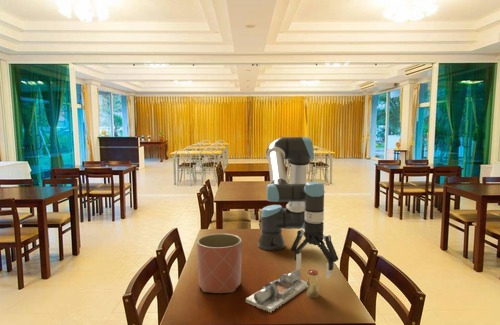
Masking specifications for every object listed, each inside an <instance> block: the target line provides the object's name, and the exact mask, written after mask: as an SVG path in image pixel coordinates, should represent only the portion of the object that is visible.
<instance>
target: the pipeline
mask: <svg viewBox="0 0 500 325" xmlns="http://www.w3.org/2000/svg"><path fill="white" fill-rule="evenodd" d="M301 277H302V274H301V271H300V270H299V269H298V270H296V269H295V270H292V271H291V272H290V273H283V274H281V275H280V277H279V278H278V279H275V280H273V281H270V282H267V283H265V285H264V286H262V289H260V290H258V291H256V292H255V293H252V294H251V295H250V296H248V297H246V298H245V303H247V304H249V305H252V306H254V307H255V306H256V307H255V308H258V309H260V310H262V309H263V310H262V311H265V310H266V311H265V312H267V311H268V313H269V312H270V314H271V313H273V312H274V311H275V309H276V308H277V309H279V308H280V307H281V306H282V304H283V305H284V304H285V303H287V302H288V301H290V300H292V299H293V298H295V296H297V295H298V294H300V293H301V292H302V291H303V292H304V291H305V290H307V280H303V279H301ZM279 306H280V307H279ZM277 309H276V310H277ZM272 311H273V312H272Z"/></svg>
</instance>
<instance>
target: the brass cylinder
mask: <svg viewBox="0 0 500 325" xmlns="http://www.w3.org/2000/svg"><path fill="white" fill-rule="evenodd" d="M306 282H307V288H306V296H307V297H309V298H313V299H314V298H315V299H316V298H318V297H320V296H319V295H320V294H319V293H320V292H319V291H320V290H319V289H320V273H319V272H318V270H316V269H309V270H308V271H307V272H306Z"/></svg>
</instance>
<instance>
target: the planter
mask: <svg viewBox="0 0 500 325" xmlns="http://www.w3.org/2000/svg"><path fill="white" fill-rule="evenodd" d="M242 244H243V240H242V238H241V237H240V236H239V235H236V234H232V233H211V234H207V235H203V236H201V237H199V238H198V239H197V241H196V250H197V251H196V252H197V254H196V255H197V267H198V268H197V269H198V285H199V288H201V291H202V292H203V293H213V294H226V293H233V292H235V291H236V290H237V289H238V287H240V285H241V281H242V250H243V245H242Z"/></svg>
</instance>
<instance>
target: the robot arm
mask: <svg viewBox="0 0 500 325" xmlns="http://www.w3.org/2000/svg"><path fill="white" fill-rule="evenodd" d="M314 157H315V153H314V145H313V140H312V138H310V137H308V136H307V137H304V136H290V137H289V136H287V137H285V136H282V137H281V136H280V137H278V138H275V139H274V140H272V142H270V143H269V145H268V146H267V148H266V150H265V158H266V160H267V161H268V168H269V169H268V170H269V171H268V172H269V181H270V182H269V183H268V184H267V185H266V200H267V202H275V203H280V202H281V203H282V202H283V203H284V202H285V203H286V202H288V203H287V204H286V205H285V207H283V206H282V205H280V204H271V205H267V206H264V207H263V208H262V209H261V215H260V217H261V228H260V229H261V233H260V237H259V238H258V242H257V244H258V248H259V249H260V250H261V249H262V250H264V251H279V250H282V249H284V248H285V246H286V245H285V240H284V236H283V231H282V230H284V229H285V230H286V229H292V230H293V229H294V230H295V229H297V232H296V233H297V235H296V237H295V239H294V241H293V243H292V245H291V248H290V251H291V252H293V253H294V261H295V266H296V267H295V270H298V271H299V270H300V269H302V252H301V251H302V250H303V248H304V247H306V245H307V244H309V245H313V246H317V247H318V248H319V249H320V250H321V252H322V254H323V255H324V257H325V258H326V260H327V261H326V265H325V267H326V268H325V270H326V273H325V277H326V279H327V280H328V279H330V278H331V277H332V270H334V263H336V262H337V261H339V257H338V254H337V252H336V250H335V247H334V244H333V241H332V235H329V234H328V235H324V227H325V226H324V220H325V219H324V217H325V216H324V214H325V209H324V208H325V193H326V192H325V185H324V183H323V182H319V181H308V182H307V170H308V165H310V164H311V160H313V159H314ZM285 160H287V163H288V164H289V165H290V173H289V174H290V175H289V183H288V178H287V171H286V166H285ZM303 229H304V230H303ZM303 236H304V240H302V238H303ZM301 240H302V242H301V243H300V241H301Z"/></svg>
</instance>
